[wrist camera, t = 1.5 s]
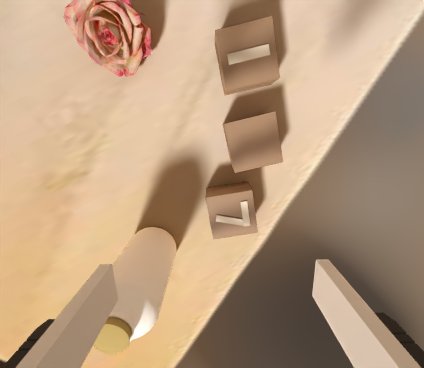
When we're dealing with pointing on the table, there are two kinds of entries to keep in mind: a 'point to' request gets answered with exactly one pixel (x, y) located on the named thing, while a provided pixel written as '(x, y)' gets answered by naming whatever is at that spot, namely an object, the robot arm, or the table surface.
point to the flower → (110, 33)
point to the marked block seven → (231, 210)
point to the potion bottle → (138, 288)
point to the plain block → (253, 142)
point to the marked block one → (247, 55)
